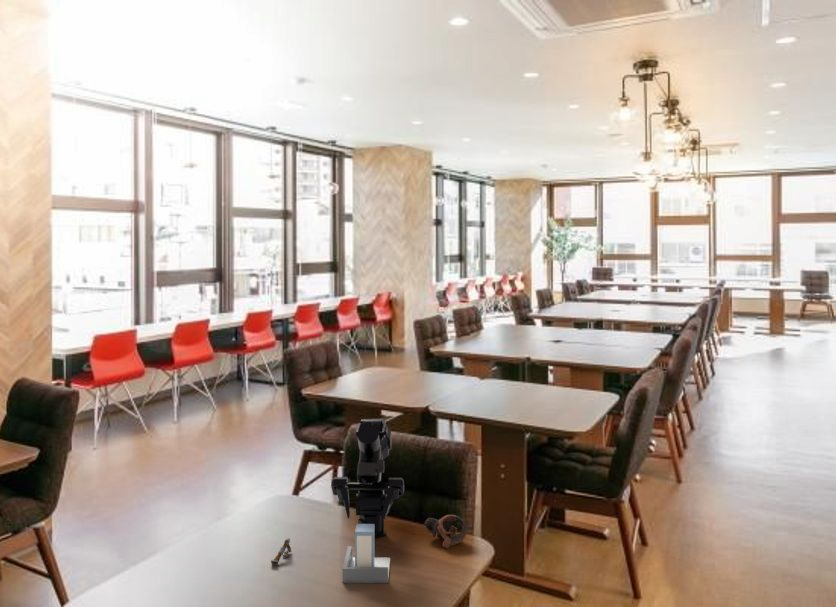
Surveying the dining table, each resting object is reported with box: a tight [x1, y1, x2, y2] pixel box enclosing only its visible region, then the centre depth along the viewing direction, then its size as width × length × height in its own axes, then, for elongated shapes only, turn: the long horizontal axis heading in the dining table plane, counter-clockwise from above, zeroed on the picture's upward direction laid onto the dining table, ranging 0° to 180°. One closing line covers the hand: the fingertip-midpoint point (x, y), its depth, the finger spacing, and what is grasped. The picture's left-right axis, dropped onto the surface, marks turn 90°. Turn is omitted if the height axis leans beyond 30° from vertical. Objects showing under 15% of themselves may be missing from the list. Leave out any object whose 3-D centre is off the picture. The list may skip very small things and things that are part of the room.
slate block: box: [354, 523, 376, 567], centre depth 166 cm, size 5×4×11 cm
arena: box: [342, 545, 391, 584], centre depth 167 cm, size 12×11×4 cm
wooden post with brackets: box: [270, 538, 292, 567], centre depth 173 cm, size 2×8×4 cm, turn 160°
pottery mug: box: [424, 514, 469, 549], centre depth 184 cm, size 12×10×8 cm
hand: (366, 518), depth 170 cm, fingers open, 9 cm apart
